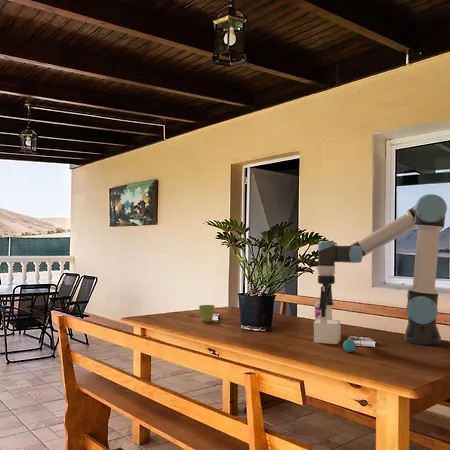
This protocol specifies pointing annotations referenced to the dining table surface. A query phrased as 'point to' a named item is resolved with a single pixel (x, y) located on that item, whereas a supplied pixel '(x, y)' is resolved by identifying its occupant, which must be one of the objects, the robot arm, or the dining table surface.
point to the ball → (349, 345)
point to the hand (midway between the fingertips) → (326, 321)
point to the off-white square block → (327, 332)
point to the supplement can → (317, 311)
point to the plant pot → (206, 312)
